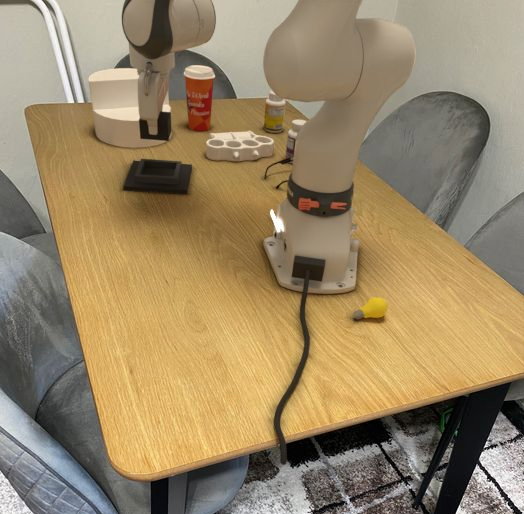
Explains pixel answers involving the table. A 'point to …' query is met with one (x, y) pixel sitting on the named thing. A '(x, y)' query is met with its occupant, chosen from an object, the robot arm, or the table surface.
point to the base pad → (158, 176)
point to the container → (119, 108)
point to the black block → (163, 127)
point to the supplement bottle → (274, 113)
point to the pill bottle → (293, 137)
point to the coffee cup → (199, 96)
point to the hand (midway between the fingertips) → (156, 127)
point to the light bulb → (372, 309)
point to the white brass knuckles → (238, 146)
